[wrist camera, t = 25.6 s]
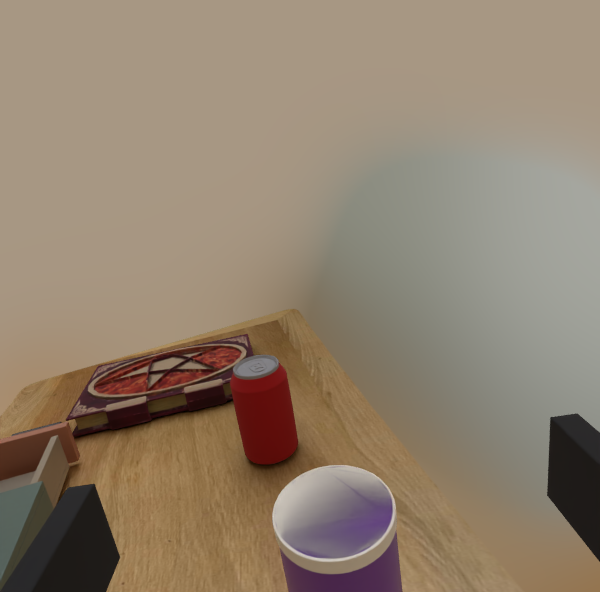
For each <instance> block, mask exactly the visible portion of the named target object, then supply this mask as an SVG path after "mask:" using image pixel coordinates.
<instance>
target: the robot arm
mask: <svg viewBox="0 0 600 592" xmlns="http://www.w3.org/2000/svg"><path fill="white" fill-rule="evenodd" d="M550 419H551V420H550V442H549V443H550V444H549V467H548V492H547V496H548V497H549V498H550V499H551V501H552V502H553V503H554V504H555V506H556V507H557V508H558V510H559V511H560V512H561V513H562V514H563V516H564V517H565V518H566V520H567V521H568V522H569V523H570V525H571V526H572V527H573V528H574V530H575V531H576V532H577V534H578V535H579V536H580V537H581V538H582V540H583V541H584V542H585V544H586V545H587V546H588V547H589V549H590V550H591V551H592V552H593V554H594V555H595V556H596V557H597V559H598V560H599V561H600V433H599V432H598V431H597V430H596V429H595V428H593V427H592V426H591V425H590V424H589V423H588V422H587V421H585V420H584V419H583V418H582V417H581V416H580V415H578V414H571V415H564V416H558V417H551V418H550ZM119 559H120V556H119V553H118V550H117V547H116V544H115V541H114V538H113V536H112V533H111V530H110V527H109V524H108V521H107V518H106V515H105V513H104V510H103V507H102V504H101V501H100V498H99V495H98V493H97V490H96V487H95V484H90V485H83V486H76V487H69V488H67V490H66V491H65V493H64V494H63V496H62V498H61V499H60V501H59V502H58V504H57V505H56V507H55V508H54V510H53V511H52V513H51V514H50V516H49V517H48V519H47V520H46V522H45V523H44V525H43V527H42V528H41V530H40V531H39V533H38V534H37V536H36V537H35V539H34V540H33V542H32V543H31V545H30V546H29V548H28V549H27V551H26V553H25V554H24V556H23V557H22V559H21V560H20V562H19V563H18V565H17V566H16V568H15V569H14V571H13V572H12V574H11V575H10V577H9V579H8V580H7V582H6V583H5V585H4V586H3V588H2V589H1V591H0V592H106V591H107V588H108V586H109V583H110V581H111V578H112V576H113V573H114V571H115V569H116V566H117V564H118V561H119Z"/></svg>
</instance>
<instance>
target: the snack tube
mask: <svg viewBox="0 0 600 592" xmlns="http://www.w3.org/2000/svg"><path fill="white" fill-rule="evenodd" d="M272 521H273V527H274V532H275V537H276V540H277V543H278V545H279V547H280V552H281V557H282V561H283V566H284V571H285V576H286V581H287V586H288V591H289V592H402V584H401V574H400V564H399V554H398V543H397V533H396V527H397V514H396V505H395V500H394V497H393V495H392V493H391V491H390V489H389V488H388V487H387V485H386V484H385V483H384V482H383V481H382V480H381V479H380V478H378V477H377V476H376V475H374V474H372V473H370V472H368V471H366V470H364V469H361V468H357V467H353V466H346V465H331V466H324V467H320V468H316V469H313V470H310V471H308V472H305V473H303V474H301V475H300V476H298V477H296V478H295V479H294V480H292V481H291V482H290V483H289V484H288V485H287V486H286V487H285V488H284V489H283V490H282V491H281V493H280V494H279V496H278V498H277V500H276V502H275V505H274V508H273V514H272Z"/></svg>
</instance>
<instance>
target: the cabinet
mask: <svg viewBox="0 0 600 592" xmlns="http://www.w3.org/2000/svg"><path fill="white" fill-rule="evenodd" d="M53 510H54V508H53V505H52V503H51V500H50V498H49V495H48V493H47V490H46V488H45V486H44V483H43V481H40V482H37V483H33V484H30V485H26V486H23V487H19V488H16V489H12V490H9V491H5V492H2V493H0V591H1V589H2V588H3V586H4V585H5V583H6V582H7V580H8V579H9V577H10V575H11V574H12V572H13V571H14V569H15V568H16V566H17V565H18V563H19V562H20V560H21V559H22V557H23V556H24V554H25V553H26V551H27V549H28V548H29V546H30V545H31V543H32V542H33V540H34V539H35V537H36V536H37V534H38V533H39V531H40V530H41V528H42V527H43V525H44V523H45V522H46V520H47V519H48V517H49V516H50V514H51V513H52V511H53Z"/></svg>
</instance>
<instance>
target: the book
mask: <svg viewBox="0 0 600 592" xmlns="http://www.w3.org/2000/svg"><path fill="white" fill-rule="evenodd" d="M252 356H253V352H252V348H251V345H250V341H249V337H248V334H245V335H240V336H236V337H231V338H226V339H222V340H217V341H212V342H208V343H203V344H198V345H194V346H189V347H184V348H180V349H175V350H170V351H166V352H161V353H156V354H152V355H147V356H143V357H138V358H133V359H129V360H124V361H119V362H115V363H110V364H105V365H101V366H98V367H97V369H96V370H95V372H94V374H93V375H92V377H91V379H90V380H89V382H88V384H87V385H86V387H85V389H84V390H83V392H82V394H81V395H80V397H79V399H78V400H77V402H76V404H75V405H74V407H73V409H72V410H71V412H70V414H69V415H68V417H67V419H66V421H68V420H72V419H75V420H76V422H77V426H76V428H75V429H74V431H73V433H72V434H73V437H75V436H80V435H84V434H88V433H92V432H96V431H101V430H105V429H109V428H111V430H114V429H119V428H123V427H127V426H131V425H135V424H140V423H144V422H148V421H152V418H155V417H159V416H164V415H168V414H172V413H176V412H180V411H185V410H189V411H194V410H198V409H202V408H206V407H211V406H215V405H219V404H223V403H227V402H226V400H231V399H233V397H232V392H231V387H230V381H231V378H232V375H233V368H234V366H235V365H236V364H237V363H238V362H240V361H241V360H243V359H246V358H248V357H252Z"/></svg>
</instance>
